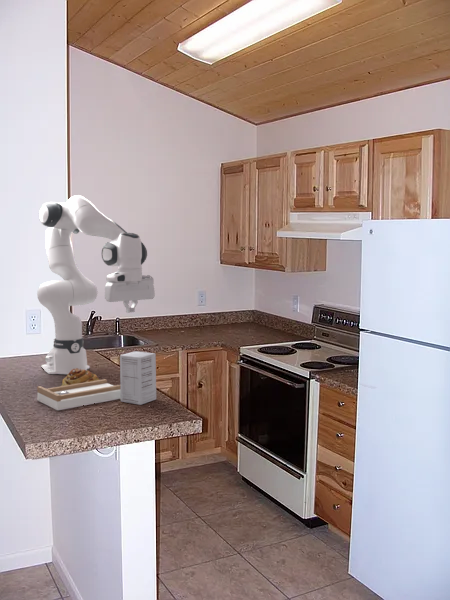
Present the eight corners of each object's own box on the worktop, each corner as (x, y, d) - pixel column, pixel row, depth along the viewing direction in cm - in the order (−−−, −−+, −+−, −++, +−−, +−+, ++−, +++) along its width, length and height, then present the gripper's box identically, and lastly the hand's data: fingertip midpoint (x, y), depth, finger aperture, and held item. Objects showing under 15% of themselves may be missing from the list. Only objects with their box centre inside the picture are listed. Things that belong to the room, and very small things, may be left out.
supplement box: (157, 399, 227) (157, 353, 225) (141, 405, 219) (140, 357, 217) (136, 395, 232) (135, 350, 230) (119, 401, 224) (119, 354, 222)
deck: (37, 400, 224) (37, 386, 223) (102, 389, 241) (102, 376, 240) (57, 410, 212) (57, 395, 211) (124, 397, 228) (124, 384, 228)
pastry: (55, 388, 242) (54, 367, 242) (87, 381, 253) (87, 361, 253) (75, 394, 234) (75, 373, 233) (108, 387, 245) (108, 366, 244)
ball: (68, 395, 225) (60, 403, 223) (62, 387, 223) (54, 395, 221) (74, 397, 222) (65, 406, 220) (68, 390, 220) (59, 398, 218)
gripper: (148, 274, 248) (148, 309, 250) (102, 276, 235) (102, 313, 237) (157, 275, 243) (157, 311, 245) (111, 277, 230) (111, 315, 232)
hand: (130, 312), depth 241 cm, fingers closed
